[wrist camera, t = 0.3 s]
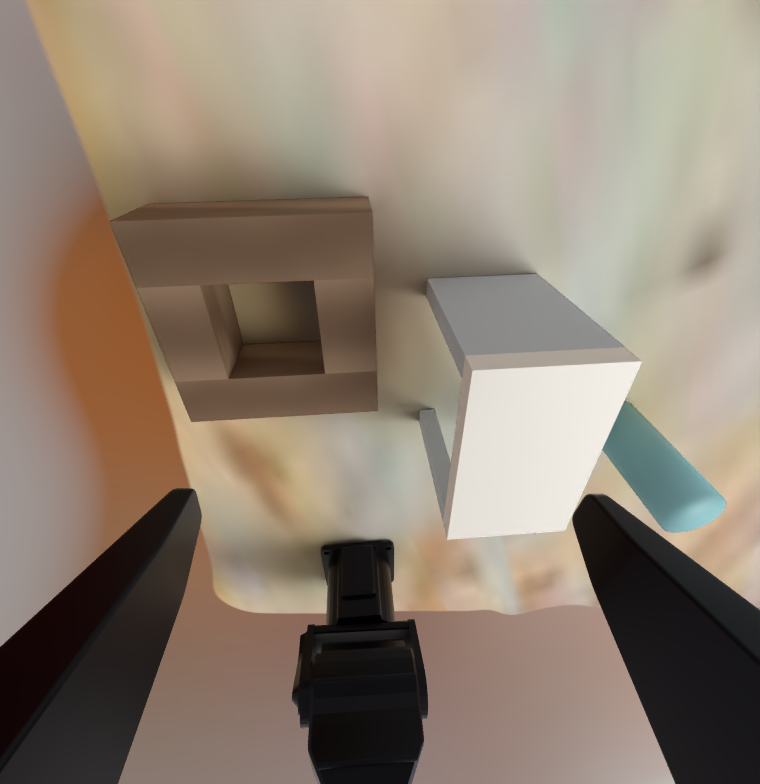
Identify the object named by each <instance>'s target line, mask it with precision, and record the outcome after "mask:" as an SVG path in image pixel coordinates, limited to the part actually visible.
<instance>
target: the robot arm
mask: <svg viewBox="0 0 760 784" xmlns="http://www.w3.org/2000/svg"><path fill="white" fill-rule="evenodd" d="M201 517H202V515H201V509H200V505H199V502H198V498H197V494H196V491H195V490H194V489H190V488H186V489H185V488H177V489H173V490H172V491H170V492H169V493H168V494H167V495H166V496H165V497H164V498H162V499H161V500H160V501H159V502H158V503H157V504H156V505H155V506H154V507H153V508H152V509H151V510H149V511H148V512H147V513H146V514H145V515H144V516H143V517H142V518H141V519H140V520H138V521H137V522H136V523H135V524H134V525H133V526H132V527H131V528H130V529H129V530H127V531H126V532H125V533H124V534H123V535H122V536H121V537H120V538H119V539H118V540H117V541H116V542H114V543H113V544H112V545H111V546H110V547H109V548H108V549H107V550H106V551H105V552H104V553H102V554H101V555H100V556H99V557H98V558H97V559H96V560H95V561H94V562H93V563H92V564H90V565H89V566H88V567H87V568H86V569H85V570H84V571H83V572H82V573H81V574H79V575H78V576H77V577H76V578H75V579H74V580H73V581H72V582H71V583H70V584H69V585H67V587H65V588H64V589H63V590H62V591H61V592H60V593H59V594H58V595H56V596H55V597H54V598H53V599H52V600H51V601H50V602H49V603H48V604H47V605H46V606H44V608H42V609H41V610H40V611H39V612H38V613H37V614H36V615H35V616H34V617H32V618H31V619H30V620H29V621H28V622H27V623H26V624H25V625H24V626H23V627H22V628H20V629H19V630H18V631H17V632H16V633H15V634H14V635H13V636H12V637H11V638H10V639H8V640H7V641H6V642H5V643H4V644H3V645H2V646H1V647H0V784H118V782H119V779H120V776H121V773H122V771H123V768H124V765H125V762H126V759H127V756H128V753H129V751H130V748H131V745H132V742H133V739H134V736H135V734H136V731H137V728H138V725H139V722H140V719H141V716H142V713H143V710H144V708H145V705H146V702H147V699H148V697H149V694H150V691H151V688H152V685H153V682H154V679H155V677H156V674H157V671H158V668H159V665H160V662H161V659H162V657H163V654H164V651H165V648H166V645H167V642H168V640H169V637H170V634H171V631H172V628H173V625H174V622H175V619H176V616H177V614H178V611H179V608H180V605H181V602H182V599H183V596H184V593H185V588H186V585H187V580H188V576H189V572H190V568H191V563H192V559H193V554H194V550H195V546H196V542H197V537H198V533H199V529H200V525H201ZM572 521H573V526H574V529H575V533H576V536H577V539H578V542H579V545H580V549H581V552H582V555H583V558H584V561H585V565H586V568H587V571H588V574H589V577H590V580H591V583H592V586H593V588H594V591H595V594H596V596H597V599H598V601H599V603H600V606H601V608H602V610H603V613H604V615H605V618H606V620H607V622H608V625H609V626H610V629H611V632H612V634H613V636H614V639H615V641H616V644H617V646H618V648H619V651H620V653H621V655H622V658H623V660H624V662H625V665H626V667H627V670H628V672H629V674H630V677H631V679H632V682H633V684H634V686H635V689H636V691H637V693H638V696H639V698H640V701H641V703H642V705H643V708H644V710H645V713H646V715H647V717H648V720H649V722H650V724H651V727H652V729H653V732H654V734H655V736H656V739H657V741H658V743H659V746H660V748H661V751H662V753H663V755H664V758H665V760H666V762H667V765H668V767H669V770H670V772H671V774H672V777H673V779H674V781H675V784H760V610H759V609H758V608H756V607H755V606H754V605H752V604H751V603H750V602H748V601H747V600H746V599H744V598H743V597H742V596H740V595H739V594H738V593H736V592H735V591H734V590H732V589H731V588H730V587H728V586H727V585H726V584H724V583H723V582H722V581H720V580H719V579H718V578H716V577H715V576H714V575H712V574H711V573H710V572H708V571H707V570H706V569H704V568H703V567H702V566H700V565H699V564H698V563H696V562H695V561H694V560H692V559H691V558H690V557H688V556H687V555H686V554H684V553H683V552H682V551H680V550H679V549H678V548H676V547H675V546H674V545H672V544H671V543H670V542H668V541H667V540H666V539H664V538H663V537H662V536H660V535H659V534H658V533H656V532H655V531H654V530H652V529H651V528H650V527H648V526H647V525H646V524H644V523H643V522H642V521H640V520H639V519H638V518H636V517H635V516H634V515H632V514H631V513H630V512H628V511H627V510H626V509H624V508H623V507H622V506H620V505H619V504H618V503H616V502H615V501H614V500H612V499H611V498H610V497H608V496H607V495H604V494H587V495H585V497H584V498H583V499H582V501H581V503H580V504H579V506H578V507H577V509H576V510H575V512H574V514H573V518H572ZM321 556H322V561H323V566H324V572H325V577H326V582H327V586H328V592H327V617H326V625H320V626H319V625H318V626H315V624H312V625H308V629H307V632H306V633H305V634H303V635H301V636H300V647H299V657H298V664H297V670H296V675H295V681H294V686H293V692H292V701H293V702H294V704H295V705H296V706H297V707H298V714H299V715H300V727H301V728H309V736H308V752H309V756H310V761H311V766H312V770H313V773H314V776H315V778H316V780H317V783H318V784H412V781H413V777H414V774H415V771H416V767H417V764H418V760H419V757H420V754H421V750H422V747H423V742H424V735H423V725H422V719H426V718H427V715H428V695H427V683H426V676H425V670H424V664H423V659H422V654H421V650H420V645H419V640H418V635H417V630H416V625H415V621H414V619H408V621H395V616H394V606H393V595H392V585H391V582H392V581H393V580H394V544H393V542H390V541H385V542H372V543H359V544H345V545H332V546H324V547H322V548H321Z"/></svg>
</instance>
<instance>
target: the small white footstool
mask: <svg viewBox="0 0 760 784" xmlns="http://www.w3.org/2000/svg"><path fill="white" fill-rule="evenodd" d="M426 297H427V299H428V302H429V304H430V306H431V308H432V311H433V313H434V315H435V318H436V320H437V322H438V324H439V327H440V329H441V331H442V334H443V336H444V338H445V340H446V343H447V345H448V347H449V350H450V352H451V354H452V356H453V359H454V361H455V363H456V366H457V368H458V370H459V372H460V375H461V377H462V383H461V390H460V398H459V406H458V413H457V421H456V428H455V436H454V443H453V451H452V458H451V463H450V459H449V456H448V453H447V449H446V446H445V443H444V439H443V436H442V433H441V429H440V426H439V422H438V419H437V416H436V412H435V409H431V410H420V416H419V423H420V427H421V431H422V435H423V440H424V444H425V448H426V452H427V457H428V461H429V465H430V469H431V474H432V478H433V482H434V486H435V490H436V495H437V499H438V503H439V507H440V512H441V516H442V520H443V524H444V528H445V533H446V537H447V540H448V539H462V538H475V537H488V536H501V535H515V534H528V533H541V532H554V531H565V529H566V527H567V525H568V523H569V521H570V518H571V516H572V514H573V512H574V510H575V508H576V505H577V503H578V501H579V499H580V497H581V494H582V492H583V490H584V488H585V486H586V483H587V481H588V479H589V477H590V475H591V473H592V470H593V468H594V466H595V464H596V462H597V459H598V457H599V455H600V453H601V451H602V449H603V446H604V444H605V442H606V440H607V438H608V435H609V433H610V431H611V429H612V427H613V424H614V422H615V420H616V418H617V416H618V414H619V411H620V409H621V407H622V405H623V403H624V400H625V398H626V396H627V394H628V392H629V390H630V387H631V385H632V383H633V381H634V379H635V376H636V374H637V372H638V370H639V368H640V365H641V363H642V360H640V359H639V358H638V357H637V356H636V355H634V354H633V353H632V352H631V351H630V350H628V349H627V348H626V347H625V346H624V345H622V344H621V343H620V342H619V341H618V340H616V339H615V338H614V337H613V336H612V335H610V334H609V333H608V332H607V331H606V330H604V329H603V328H602V327H601V326H600V325H598V324H597V323H596V322H595V321H594V320H592V319H591V318H590V317H589V316H588V315H586V314H585V313H584V312H583V311H582V310H580V309H579V308H578V307H577V306H576V305H574V304H573V303H572V302H571V301H570V300H568V299H567V298H566V297H565V296H564V295H562V294H561V293H560V292H559V291H558V290H557V289H555V288H554V287H553V286H552V285H551V284H549V283H548V282H547V281H546V280H545V279H543V278H542V277H541V276H540V275H539V274H521V275H497V276H474V277H451V278H428V279H427V292H426Z"/></svg>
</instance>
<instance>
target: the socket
mask: <svg viewBox="0 0 760 784" xmlns="http://www.w3.org/2000/svg"><path fill="white" fill-rule="evenodd" d="M109 223H110V225H111V228H112V230H113V233H114V235H115V238H116V240H117V242H118V245H119V247H120V250H121V252H122V255H123V257H124V259H125V262H126V264H127V267H128V269H129V272H130V274H131V276H132V279H133V281H134V284H135V286H136V289H137V291H138V293H139V296H140V298H141V301H142V303H143V306H144V308H145V311H146V313H147V315H148V318H149V320H150V323H151V325H152V328H153V330H154V332H155V335H156V337H157V340H158V342H159V345H160V347H161V349H162V352H163V354H164V357H165V359H166V362H167V364H168V366H169V369H170V371H171V374H172V376H173V379H174V381H175V384H176V386H177V388H178V391H179V393H180V396H181V398H182V401H183V403H184V405H185V408H186V410H187V413H188V415H189V418H190V420H191V422H199V421H215V420H232V419H249V418H266V417H283V416H300V415H317V414H334V413H351V412H368V411H378V401H377V365H376V329H375V292H374V256H373V220H372V209H371V206H370V202H369V198H368V197H347V198H316V199H286V200H255V201H224V202H194V203H163V204H147V205H145V206H142V207H140V208H138V209H136V210H133V211H131V212H129V213H127V214H125V215H122V216H120V217H118V218H116V219H114V220H111V221H109ZM312 280H314V288H315V296H316V304H317V312H318V320H319V328H320V336H321V341H308V342H288V343H268V344H248V345H244V344H243V340H242V337H241V333H240V329H239V325H238V321H237V317H236V314H235V310H234V306H233V302H232V298H231V295H230V291H229V287H228V284H242V283H265V282H289V281H312Z"/></svg>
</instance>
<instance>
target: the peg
mask: <svg viewBox="0 0 760 784" xmlns="http://www.w3.org/2000/svg"><path fill="white" fill-rule="evenodd" d="M602 450H603V451H604V453H605V454H606V455H607V457H608V458H609V459H610V461H611V462H612V463H613V465H614V466H615V467H616V468H617V470H618V471H619V472H620V474H621V475H622V476H623V478H624V479H625V480H626V482H627V483H628V484H629V486H630V487H631V488H632V489H633V491H634V492H635V493H636V495H637V496H638V497H639V499H640V500H641V501H642V503H643V504H644V505H645V507H646V508H647V509H648V511H649V512H650V513H651V514H652V516H653V517H654V518H655V520H656V521H657V522H658V524H659V525H660V526H661V528H662V529H663V530H665V531H667V532H673V533H678V532H686V531H690V530H693V529H696V528H699V527H701V526H704V525H706V524H708V523H709V522H711V521H713V520H714V519H715V518H717V517H718V516H719V515H720V514H721V513H722V512H723V510H724V509H725V507H726V500H725V498H724V497H723V496H722V495H721V494H720V493H719V492H718V491H717V490H716V489H715V488H714V487H713V486H712V485H711V484H710V483H709V482H708V481H707V480H706V479H705V478H704V477H703V476H702V475H701V474H700V473H699V472H698V471H697V470H696V469H695V468H694V467H693V466H692V465H691V464H690V463H689V462H688V461H687V460H686V459H685V458H684V457H683V456H682V455H681V454H680V453H679V452H678V451H677V450H676V449H675V448H674V447H673V446H672V445H671V443H670V442H669V441H668V440H667V439H666V438H665V437H664V436H663V435H662V434H661V433H660V432H659V431H658V430H657V429H656V428H655V427H654V426H653V425H652V424H651V423H650V422H649V421H648V420H647V419H646V418H645V417H644V416H643V415H642V414H641V413H640V412H639V411H638V410H637V409H636V408H635V407H634V406H633V405H632V404H631V403H628V402H624V403H623V405H622V407H621V409H620V411H619V414H618V416H617V418H616V420H615V422H614V424H613V427H612V429H611V431H610V433H609V435H608V438H607V440H606V442H605V444H604V446H603V449H602Z"/></svg>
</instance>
